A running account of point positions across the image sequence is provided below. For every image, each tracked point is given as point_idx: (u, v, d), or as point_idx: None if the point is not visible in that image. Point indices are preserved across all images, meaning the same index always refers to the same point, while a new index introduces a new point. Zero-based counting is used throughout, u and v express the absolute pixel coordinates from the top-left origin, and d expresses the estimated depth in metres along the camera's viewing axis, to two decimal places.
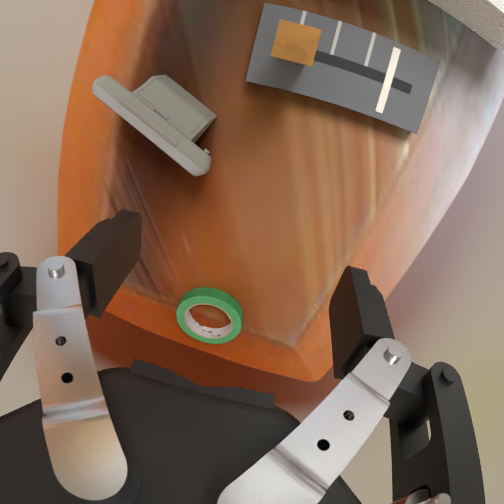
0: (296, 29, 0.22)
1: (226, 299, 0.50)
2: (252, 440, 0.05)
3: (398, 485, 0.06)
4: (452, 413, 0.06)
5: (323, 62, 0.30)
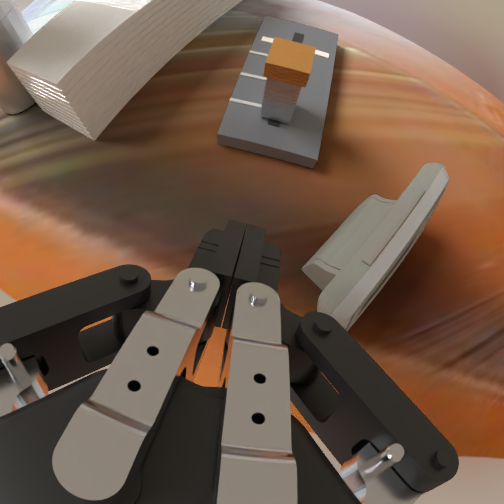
0: (276, 52, 0.22)
1: None
2: None
3: (333, 445, 0.07)
4: (349, 363, 0.07)
5: None
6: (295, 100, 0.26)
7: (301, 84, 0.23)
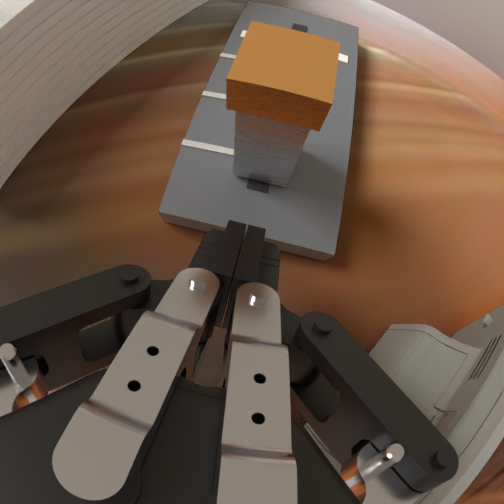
0: (254, 53, 0.10)
1: None
2: None
3: (333, 445, 0.07)
4: (349, 363, 0.07)
5: None
6: (297, 152, 0.14)
7: (310, 125, 0.11)
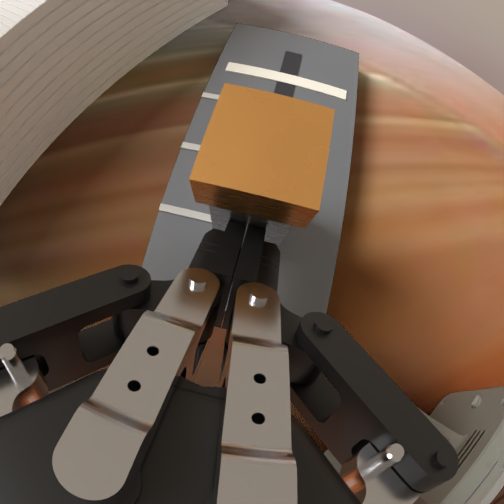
0: (225, 136, 0.09)
1: None
2: None
3: (333, 445, 0.07)
4: (349, 363, 0.07)
5: None
6: (281, 235, 0.13)
7: (294, 223, 0.10)
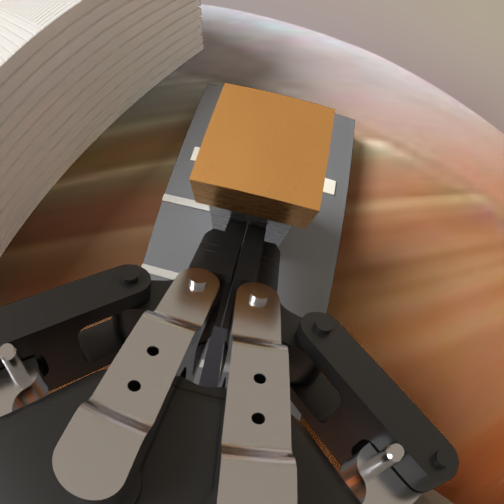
0: (225, 136, 0.09)
1: None
2: None
3: (333, 445, 0.07)
4: (349, 363, 0.07)
5: None
6: (281, 235, 0.13)
7: (294, 223, 0.10)
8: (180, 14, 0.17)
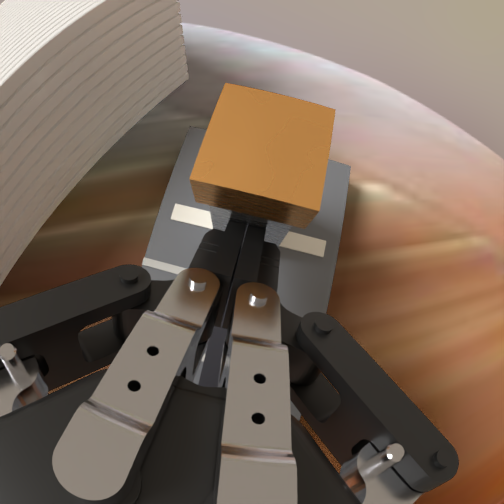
0: (225, 136, 0.09)
1: None
2: None
3: (333, 445, 0.07)
4: (349, 363, 0.07)
5: None
6: (281, 235, 0.13)
7: (294, 223, 0.10)
8: (160, 45, 0.16)
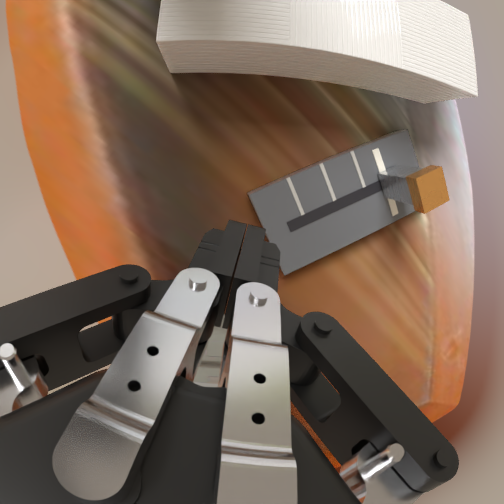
0: (428, 179, 0.26)
1: None
2: None
3: (333, 445, 0.07)
4: (349, 363, 0.07)
5: (332, 212, 0.35)
6: (402, 201, 0.31)
7: (414, 207, 0.29)
8: (436, 96, 0.29)
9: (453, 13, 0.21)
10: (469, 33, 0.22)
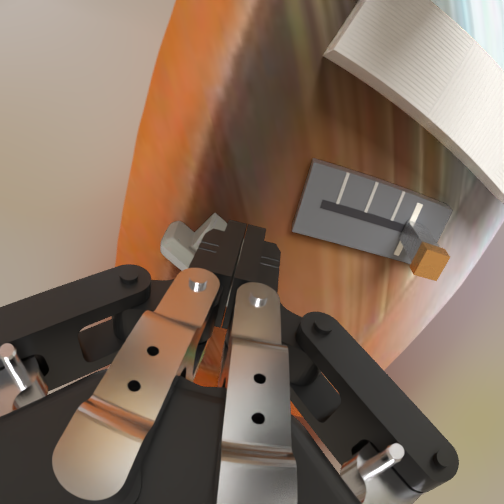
0: (435, 257, 0.33)
1: None
2: None
3: (333, 445, 0.07)
4: (349, 363, 0.07)
5: (357, 218, 0.41)
6: (407, 253, 0.37)
7: (411, 264, 0.35)
8: (503, 201, 0.33)
9: None
10: None
